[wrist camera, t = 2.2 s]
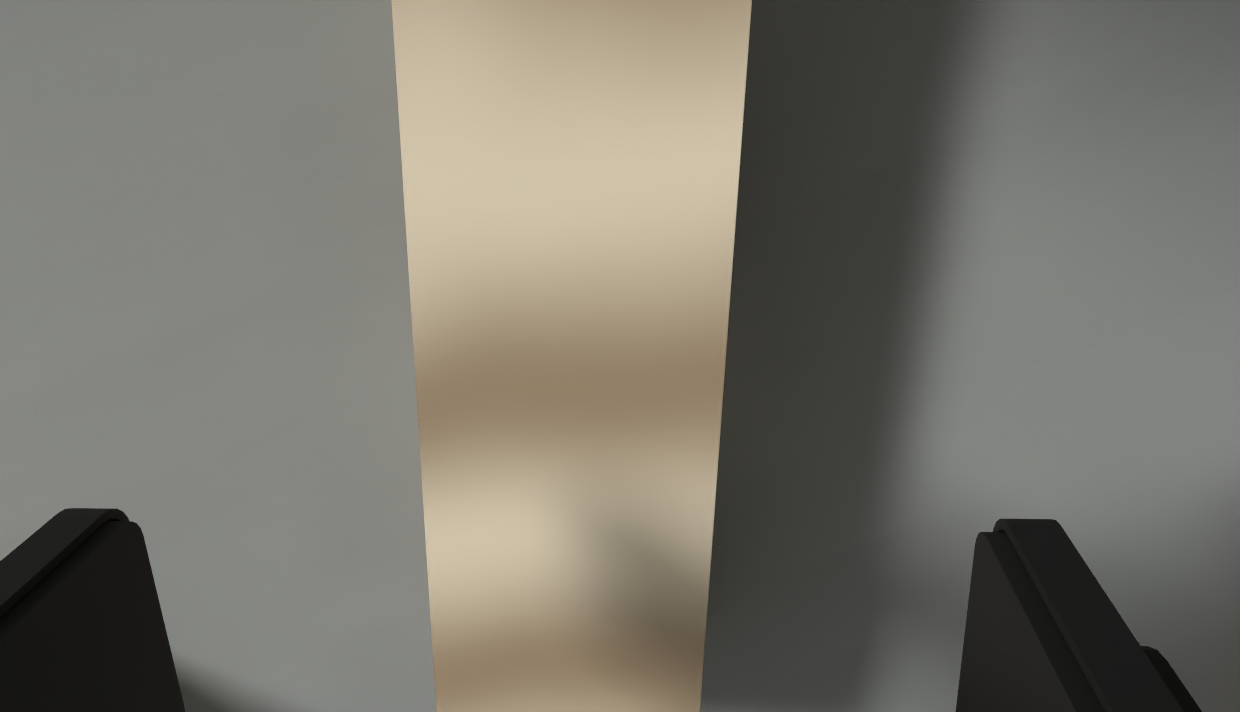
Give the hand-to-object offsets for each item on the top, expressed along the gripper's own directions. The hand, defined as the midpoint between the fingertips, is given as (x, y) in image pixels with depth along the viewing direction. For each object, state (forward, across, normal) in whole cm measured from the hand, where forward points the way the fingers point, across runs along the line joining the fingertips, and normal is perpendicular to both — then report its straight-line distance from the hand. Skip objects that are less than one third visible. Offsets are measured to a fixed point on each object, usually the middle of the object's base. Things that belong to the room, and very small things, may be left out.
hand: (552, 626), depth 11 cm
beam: (+10, 0, -1) cm, 11 cm away
